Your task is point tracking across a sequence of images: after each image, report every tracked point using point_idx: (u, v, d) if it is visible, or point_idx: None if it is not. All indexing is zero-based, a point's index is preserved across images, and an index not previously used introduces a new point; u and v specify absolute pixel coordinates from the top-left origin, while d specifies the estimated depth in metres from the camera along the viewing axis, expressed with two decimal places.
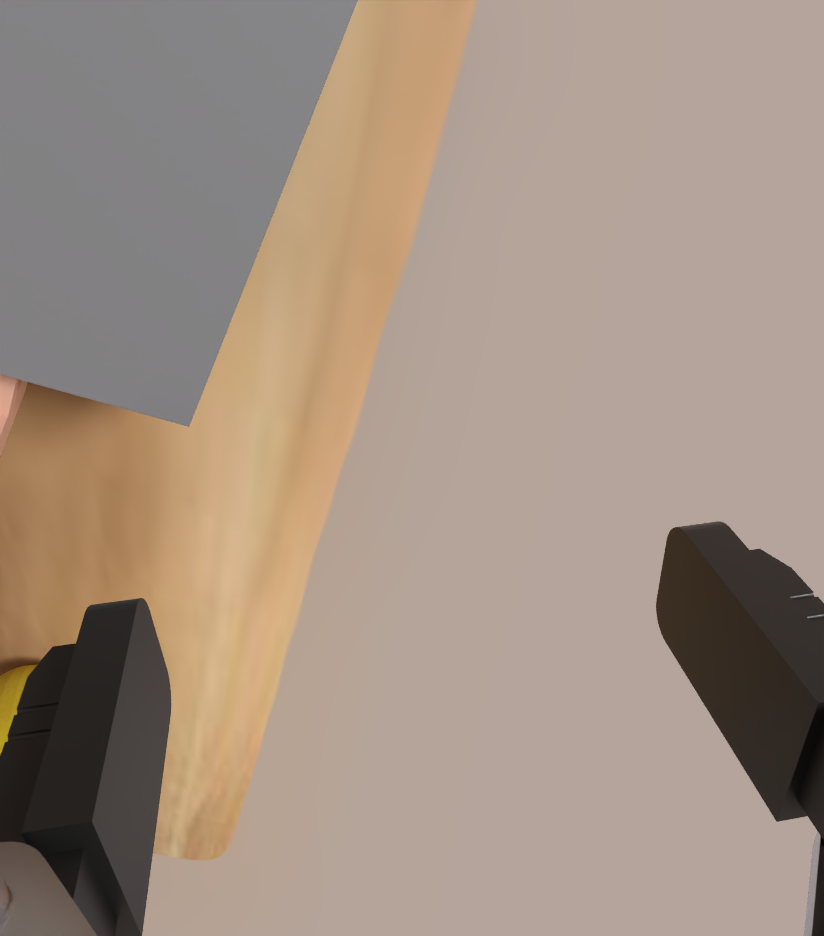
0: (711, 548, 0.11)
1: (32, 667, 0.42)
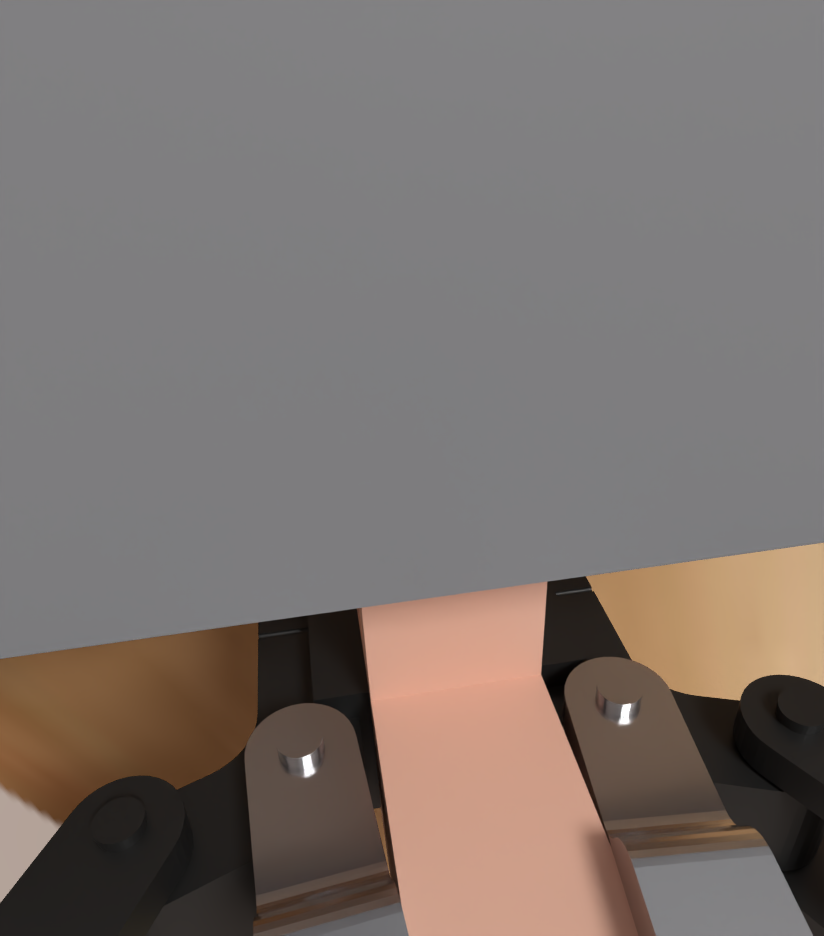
0: None
1: None
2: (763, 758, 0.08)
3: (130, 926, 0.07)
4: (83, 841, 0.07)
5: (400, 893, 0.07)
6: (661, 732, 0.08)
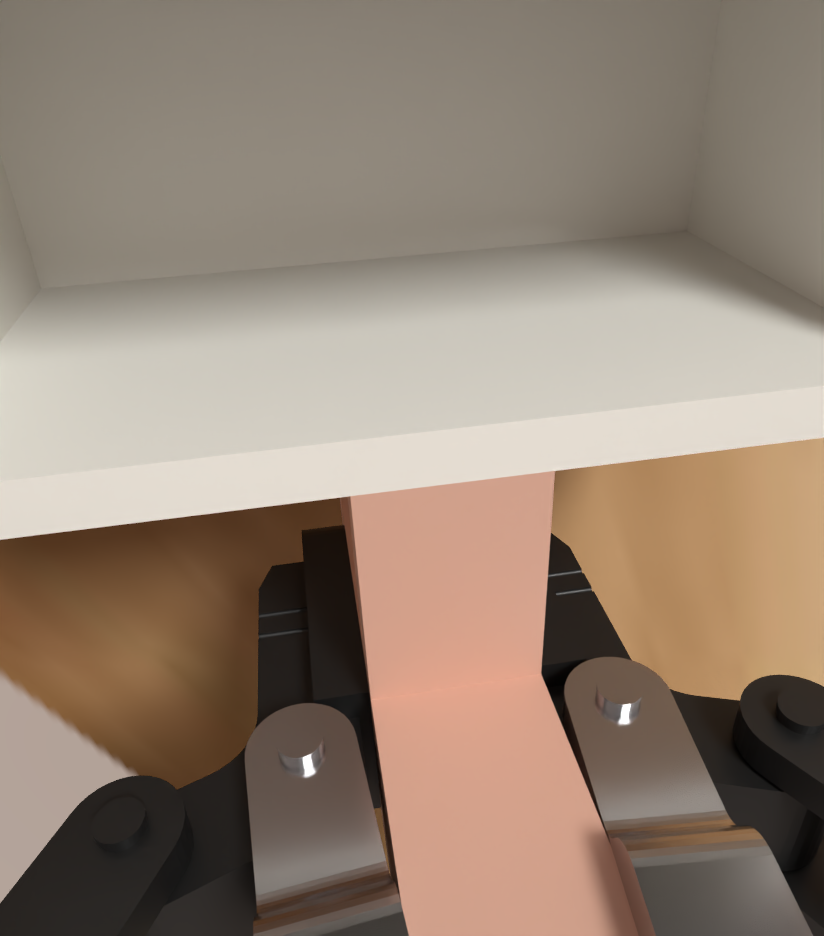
0: None
1: None
2: (763, 758, 0.08)
3: (128, 927, 0.07)
4: (83, 841, 0.07)
5: (400, 892, 0.07)
6: (660, 732, 0.08)
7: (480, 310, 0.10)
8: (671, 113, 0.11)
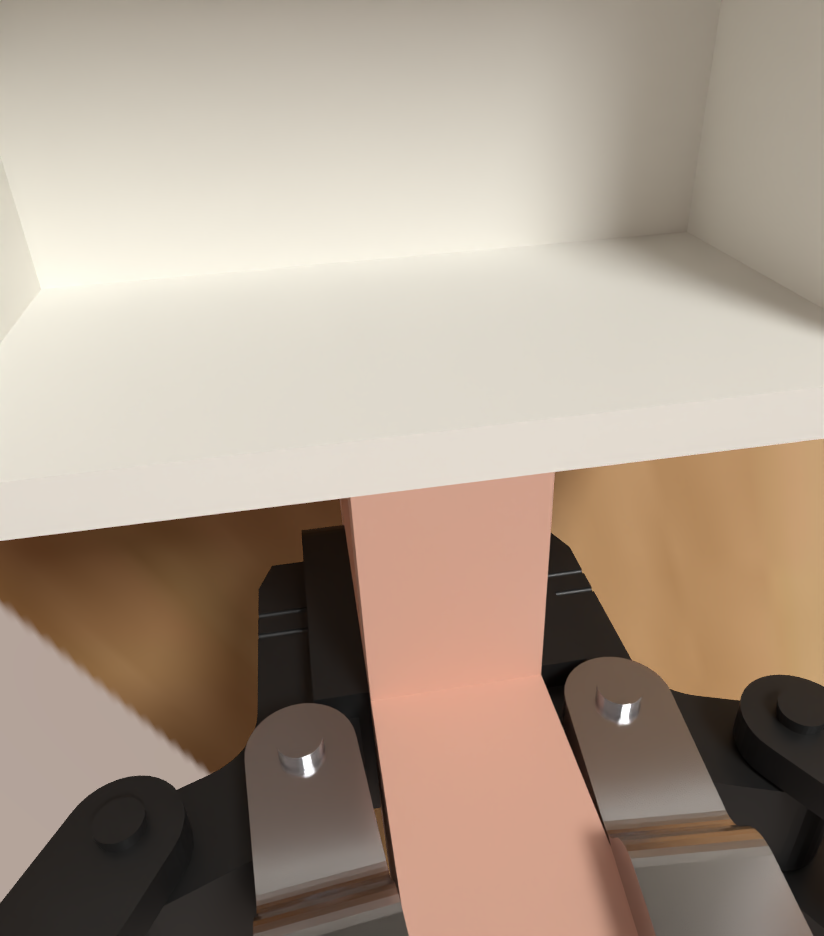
0: None
1: None
2: (763, 758, 0.08)
3: (128, 927, 0.07)
4: (83, 841, 0.07)
5: (400, 893, 0.07)
6: (661, 732, 0.08)
7: (480, 311, 0.10)
8: (671, 114, 0.11)
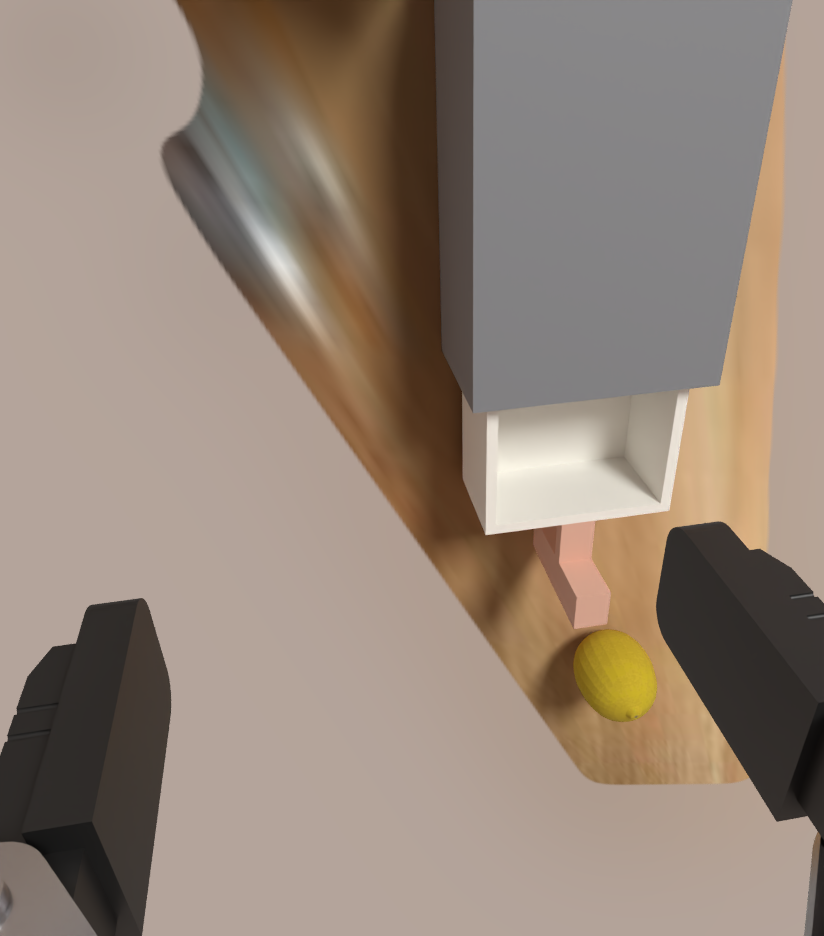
0: (711, 548, 0.11)
1: (598, 631, 0.57)
2: None
3: None
4: None
5: (571, 587, 0.44)
6: None
7: (578, 485, 0.47)
8: (619, 433, 0.48)
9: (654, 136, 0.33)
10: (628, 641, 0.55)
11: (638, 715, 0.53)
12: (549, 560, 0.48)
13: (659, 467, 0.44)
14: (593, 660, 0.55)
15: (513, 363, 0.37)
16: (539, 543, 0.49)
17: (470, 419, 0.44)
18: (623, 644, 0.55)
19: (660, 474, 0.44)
